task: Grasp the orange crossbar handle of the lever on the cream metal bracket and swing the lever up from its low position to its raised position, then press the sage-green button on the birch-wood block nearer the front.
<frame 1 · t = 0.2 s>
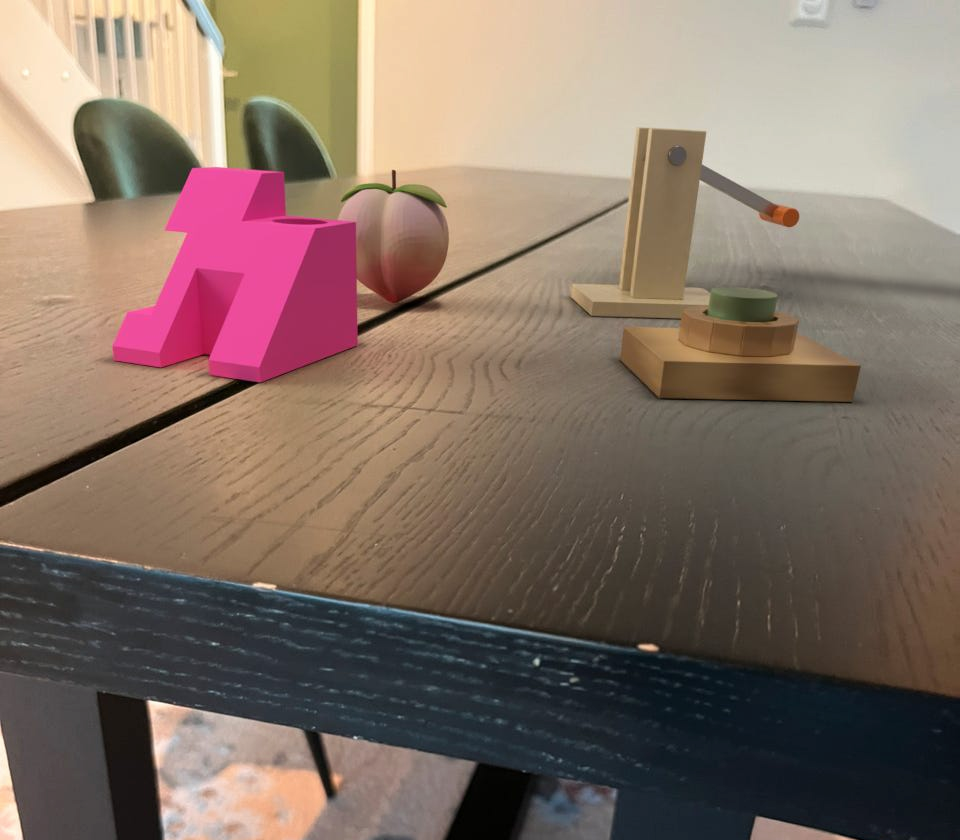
bracket 2: (242, 355, 63), on the table
button block: (729, 379, 62), on the table
decorative fruit: (394, 305, 81), on the table
bracket: (648, 308, 85), on the table
lever: (720, 183, 80), point 10 cm above the table, hinge at -22.0°
button: (741, 307, 60), point 4 cm above the table, slide at 0.1 cm
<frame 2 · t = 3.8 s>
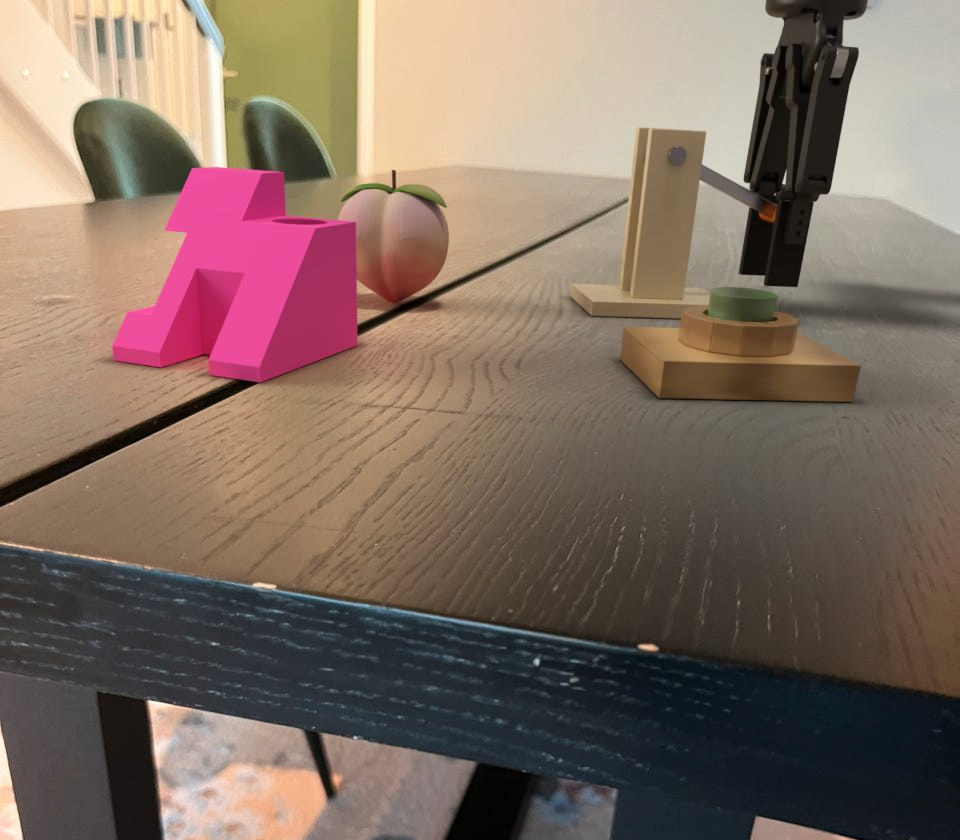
hand: (767, 279, 84), 3 cm above the table, tool pointing down, fingers closed on lever, 5 cm apart
lever: (720, 183, 80), point 10 cm above the table, hinge at -22.0°, touching gripper
everything else where it was.
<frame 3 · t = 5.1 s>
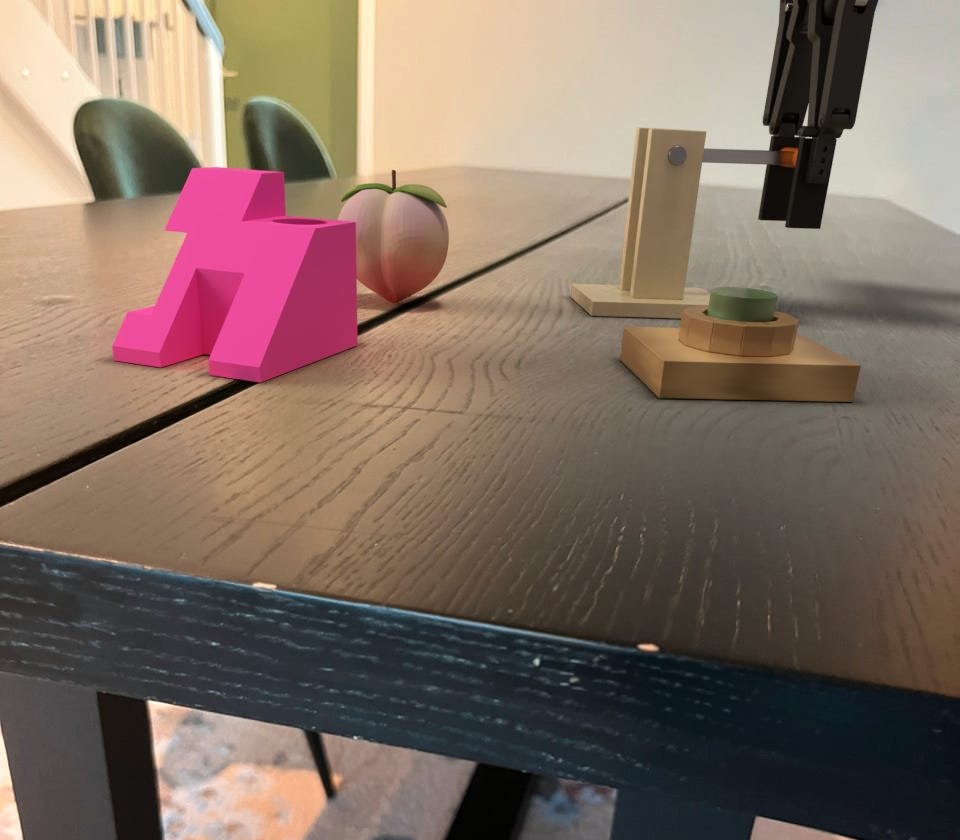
hand: (788, 223, 82), 7 cm above the table, tool pointing down, fingers closed on lever, 5 cm apart
lever: (729, 156, 79), point 12 cm above the table, hinge at 0.9°, touching gripper
everything else where it was.
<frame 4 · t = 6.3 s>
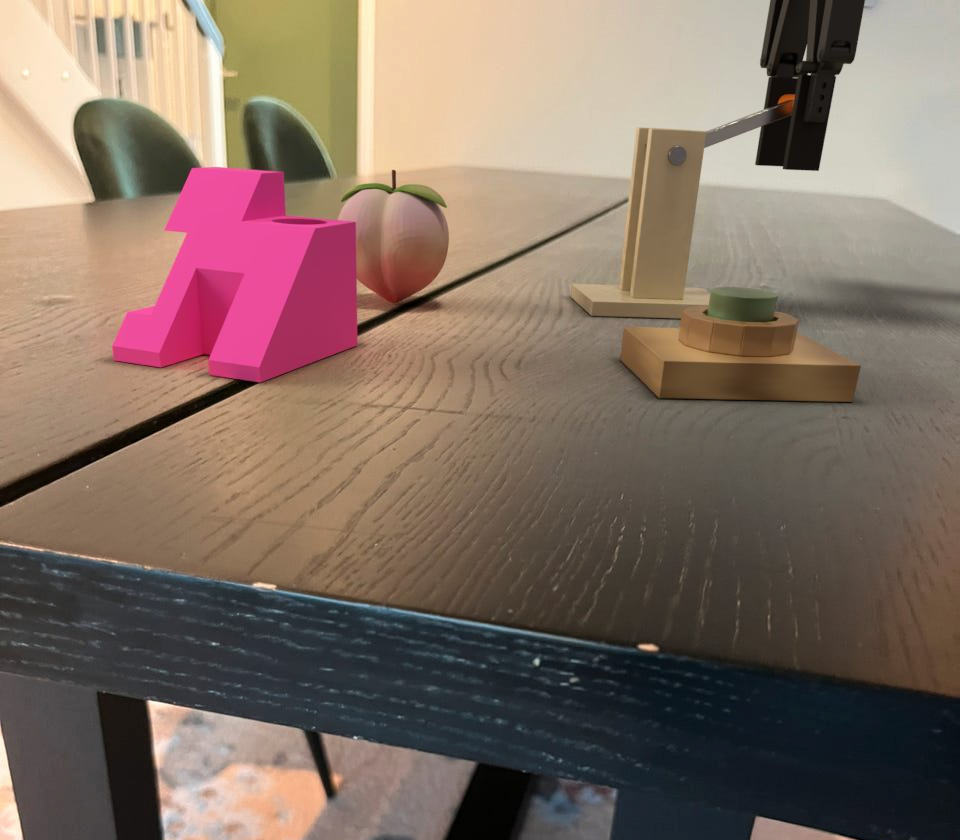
hand: (785, 167, 80), 11 cm above the table, tool pointing down, fingers open, 6 cm apart
lever: (728, 130, 78), point 14 cm above the table, hinge at 21.5°
everything else where it was.
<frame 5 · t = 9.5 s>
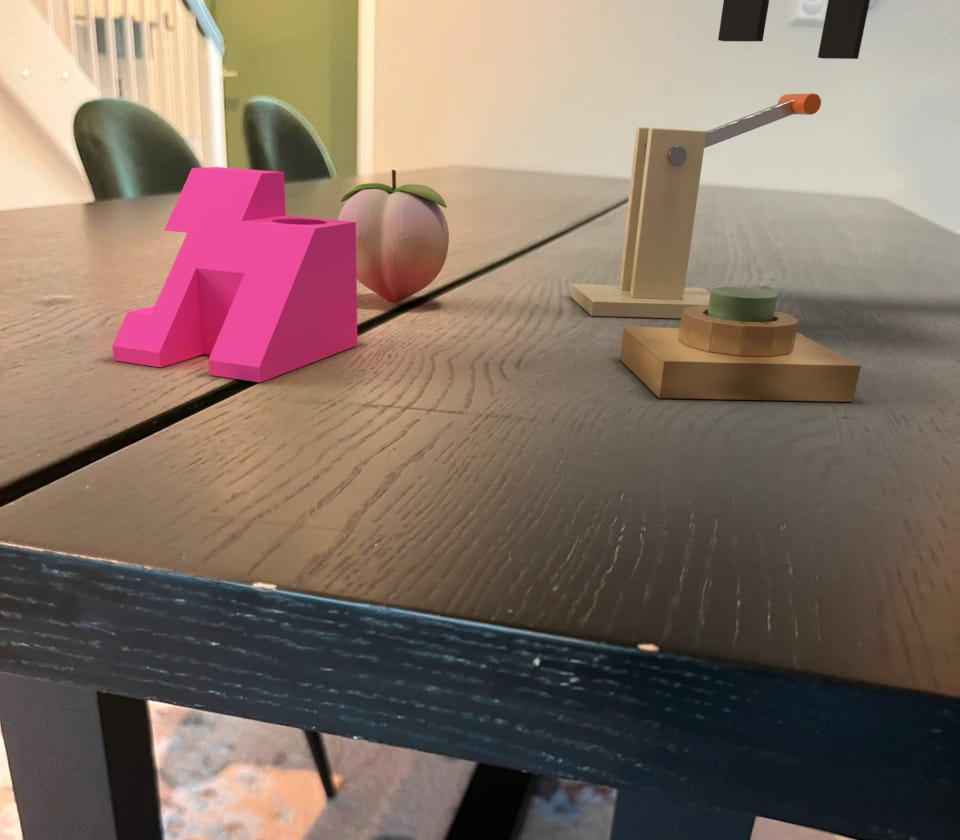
hand: (792, 51, 65), 19 cm above the table, tool pointing down, fingers open, 13 cm apart
nothing on the table moved.
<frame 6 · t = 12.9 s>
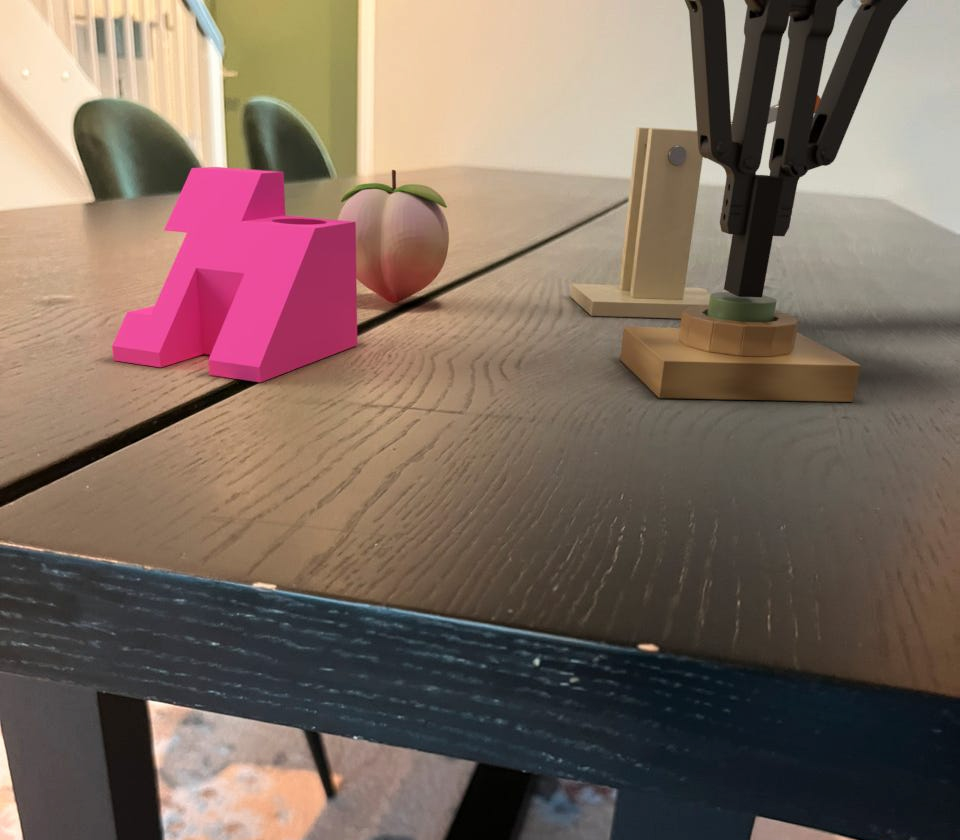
hand: (742, 292, 60), 5 cm above the table, tool pointing down, fingers closed
button: (740, 312, 60), point 4 cm above the table, slide at -0.2 cm, touching gripper
everything else where it was.
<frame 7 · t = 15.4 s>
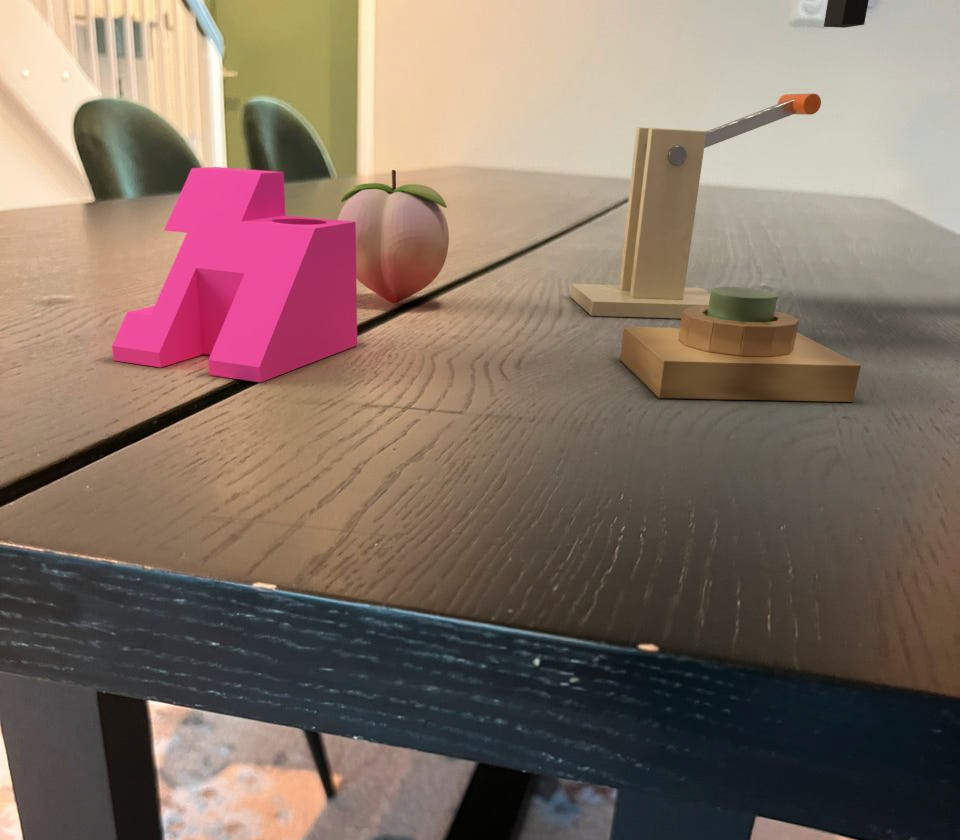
hand: (843, 25, 63), 20 cm above the table, tool pointing down, fingers closed
button: (741, 307, 60), point 4 cm above the table, slide at 0.1 cm
everything else where it was.
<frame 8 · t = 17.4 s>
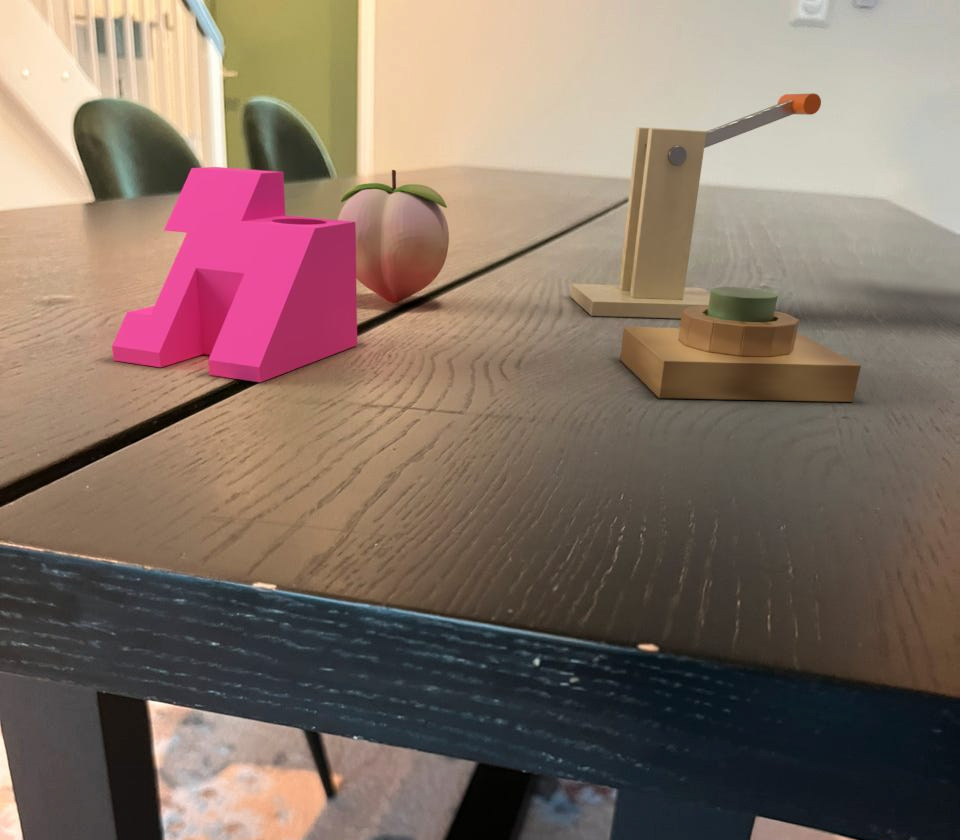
nothing on the table moved.
at the end: lever at +22° (first picture: -22°); button pushed in 1.0 cm at the most during the clip, back to where it started at the end; button slide at 0.1 cm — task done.
